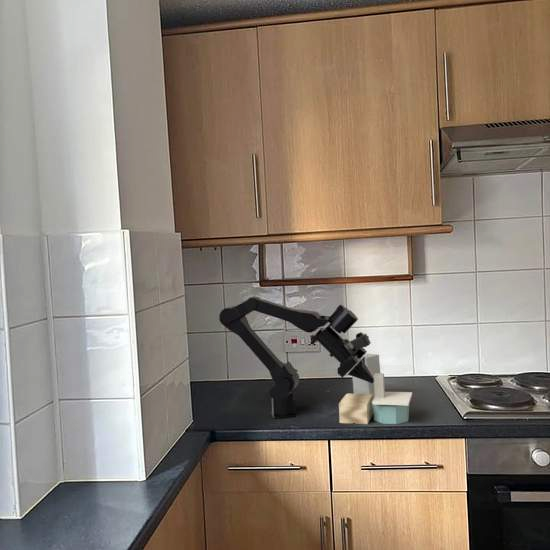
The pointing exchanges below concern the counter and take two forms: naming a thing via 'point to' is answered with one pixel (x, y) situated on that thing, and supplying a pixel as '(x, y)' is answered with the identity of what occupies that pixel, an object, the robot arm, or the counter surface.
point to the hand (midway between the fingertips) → (373, 382)
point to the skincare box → (373, 367)
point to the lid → (388, 393)
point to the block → (356, 408)
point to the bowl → (391, 414)
